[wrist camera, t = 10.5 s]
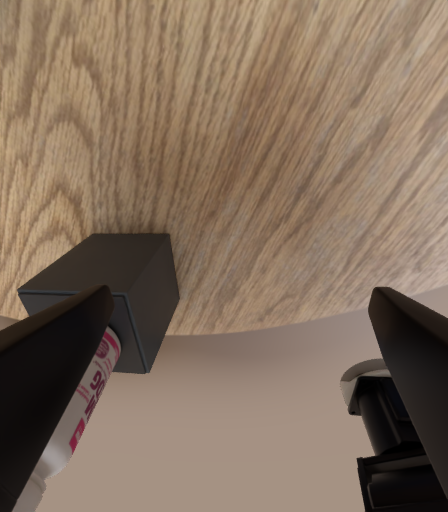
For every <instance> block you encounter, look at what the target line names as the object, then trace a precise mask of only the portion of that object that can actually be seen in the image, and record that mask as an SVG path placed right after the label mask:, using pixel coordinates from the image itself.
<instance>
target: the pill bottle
mask: <svg viewBox="0 0 448 512" xmlns="http://www.w3.org/2000/svg"><path fill="white" fill-rule="evenodd" d="M120 352H121V346H120V342H119V339H118V337H117V336H116V334H115V333H114V332H113V330H112V329H110V328H109V327H108V326H107V328H106V331H105V333H104V336H103V338H102V341H101V343H100V345H99V347H98V349H97V351H96V353H95V355H94V357H93V359H92V361H91V363H90V365H89V367H88V369H87V370H86V372H85V374H84V376H83V378H82V380H81V382H80V384H79V386H78V387H77V389H76V391H75V393H74V395H73V397H72V399H71V401H70V403H69V404H68V406H67V408H66V410H65V412H64V414H63V416H62V418H61V420H60V421H59V423H58V425H57V427H56V429H55V431H54V433H53V435H52V437H51V438H50V440H49V442H48V444H47V446H46V448H45V450H44V452H43V454H42V456H41V457H40V459H39V461H38V463H37V465H36V467H35V469H34V471H33V473H32V474H31V476H30V478H29V480H28V482H27V484H26V486H25V488H24V490H23V491H22V493H21V495H20V497H19V499H17V503H16V505H15V507H14V509H13V511H12V512H35V510H36V508H37V506H38V505H39V503H40V501H41V499H42V494H43V493H44V491H45V490H46V484H45V482H44V480H45V479H48V478H51V477H53V476H55V475H56V474H58V473H59V472H60V471H62V470H63V469H64V468H65V466H66V465H67V463H68V461H69V460H70V458H71V456H72V454H73V452H74V450H75V448H76V446H77V444H78V441H79V439H80V437H81V435H82V433H83V431H84V429H85V426H86V424H87V423H88V420H89V418H90V417H91V414H92V412H93V410H94V408H95V406H96V404H97V402H98V400H99V398H100V396H101V393H102V391H103V389H104V387H105V385H106V383H107V381H108V379H109V377H110V375H111V373H112V370H113V369H114V366H115V364H116V363H117V361H118V358H119V356H120Z"/></svg>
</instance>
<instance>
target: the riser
mask: <svg viewBox="0 0 448 512" xmlns="http://www.w3.org/2000/svg"><path fill="white" fill-rule="evenodd" d="M96 284H106V285H108V286H109V287H110V290H111V293H112V296H113V299H114V302H115V308H114V311H113V314H112V316H111V319H110V321H109V323H108V327H109V328H110V329H112V330H113V332H114V333H115V334H116V336H117V337H118V339H119V342H120V346H121V352H120V356H119V358H118V361H117V363H116V364H115V366H114V369H113V370H112V372H122V373H137V374H145V373H149V372H150V370H151V368H152V365H153V363H154V360H155V358H156V356H157V353H158V351H159V348H160V346H161V343H162V341H163V338H164V336H165V334H166V331H167V329H168V326H169V324H170V321H171V319H172V316H173V314H174V311H175V309H176V307H177V304H178V302H179V299H180V298H179V292H178V286H177V280H176V274H175V268H174V262H173V255H172V249H171V243H170V237H169V234H92V235H90V236H89V237H87V238H86V239H85V240H83V241H82V242H81V243H79V244H78V245H77V246H75V247H74V248H73V249H71V250H70V251H69V252H67V253H66V254H64V255H63V256H62V257H60V258H59V259H58V260H56V261H55V262H54V263H52V264H51V265H50V266H48V267H47V268H46V269H44V270H43V271H41V272H40V273H39V274H37V275H36V276H35V277H33V278H32V279H31V280H29V281H28V282H27V283H25V284H24V285H23V286H21V287H20V288H18V289H17V291H18V293H19V294H18V296H19V298H20V299H21V301H22V303H23V305H24V307H25V309H26V311H27V313H28V314H29V316H31V315H34V314H36V313H38V312H40V311H42V310H44V309H46V308H48V307H50V306H52V305H54V304H56V303H58V302H60V301H63V300H65V299H67V298H69V297H71V296H73V295H75V294H77V293H79V292H81V291H83V290H85V289H87V288H89V287H91V286H94V285H96Z"/></svg>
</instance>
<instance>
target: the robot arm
mask: <svg viewBox="0 0 448 512" xmlns="http://www.w3.org/2000/svg"><path fill="white" fill-rule="evenodd" d="M114 308H115V302H114V299H113V296H112V293H111V290H110V287H109V286H108V285H106V284H96V285H94V286H91V287H89V288H87V289H85V290H83V291H81V292H79V293H77V294H75V295H73V296H71V297H69V298H67V299H65V300H63V301H60V302H58V303H56V304H54V305H52V306H50V307H48V308H46V309H44V310H42V311H40V312H38V313H36V314H34V315H31V316H29V317H27V318H25V319H23V320H21V321H19V322H17V323H15V324H13V325H11V326H9V327H7V328H5V329H3V330H1V331H0V512H12V511H13V509H14V507H15V505H16V503H17V499H19V497H20V495H21V493H22V491H23V490H24V488H25V486H26V484H27V482H28V480H29V478H30V476H31V474H32V473H33V471H34V469H35V467H36V465H37V463H38V461H39V459H40V457H41V456H42V454H43V452H44V450H45V448H46V446H47V444H48V442H49V440H50V438H51V437H52V435H53V433H54V431H55V429H56V427H57V425H58V423H59V421H60V420H61V418H62V416H63V414H64V412H65V410H66V408H67V406H68V404H69V403H70V401H71V399H72V397H73V395H74V393H75V391H76V389H77V387H78V386H79V384H80V382H81V380H82V378H83V376H84V374H85V372H86V370H87V369H88V367H89V365H90V363H91V361H92V359H93V357H94V355H95V353H96V351H97V349H98V347H99V345H100V343H101V341H102V338H103V336H104V333H105V331H106V328H107V326H108V323H109V321H110V319H111V316H112V314H113V311H114ZM368 313H369V317H370V320H371V322H372V326H373V329H374V332H375V335H376V338H377V341H378V344H379V348H380V351H381V353H382V356H383V359H384V361H385V363H386V366H387V368H388V370H389V372H390V375H391V377H377V376H359V377H358V378H357V381H356V384H355V387H354V390H353V394H352V397H351V400H350V403H349V406H348V412H349V414H350V415H358V416H362V419H363V422H364V424H365V427H366V430H367V433H368V436H369V439H370V441H371V444H372V447H373V450H374V453H375V456H371V457H367V458H363V457H360V458H357V463H358V474H359V480H360V485H361V491H362V496H363V501H364V506H365V512H448V318H446V317H444V316H443V315H440V314H439V313H437V312H435V311H433V310H431V309H429V308H428V307H426V306H424V305H422V304H420V303H418V302H416V301H415V300H413V299H411V298H409V297H407V296H405V295H403V294H401V293H400V292H398V291H396V290H394V289H392V288H390V287H375V288H374V289H373V291H372V295H371V299H370V303H369V307H368Z"/></svg>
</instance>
